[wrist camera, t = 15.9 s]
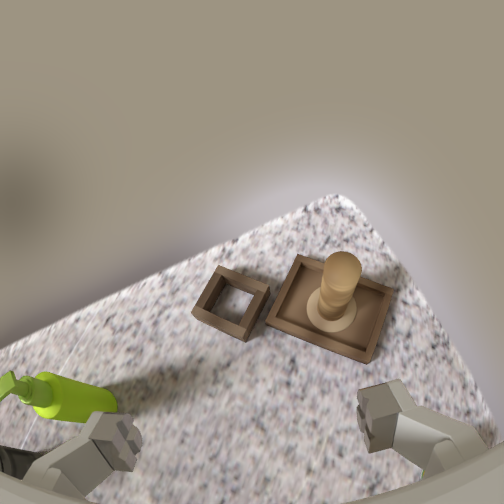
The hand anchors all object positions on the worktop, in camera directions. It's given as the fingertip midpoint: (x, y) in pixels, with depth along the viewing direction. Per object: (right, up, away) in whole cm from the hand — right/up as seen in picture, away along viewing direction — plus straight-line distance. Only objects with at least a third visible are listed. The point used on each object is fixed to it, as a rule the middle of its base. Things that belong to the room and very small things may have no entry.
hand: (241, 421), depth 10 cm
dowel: (+11, -2, +33) cm, 35 cm away
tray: (+11, -2, +33) cm, 35 cm away
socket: (-2, -2, +36) cm, 36 cm away
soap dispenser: (-23, -18, +30) cm, 41 cm away
